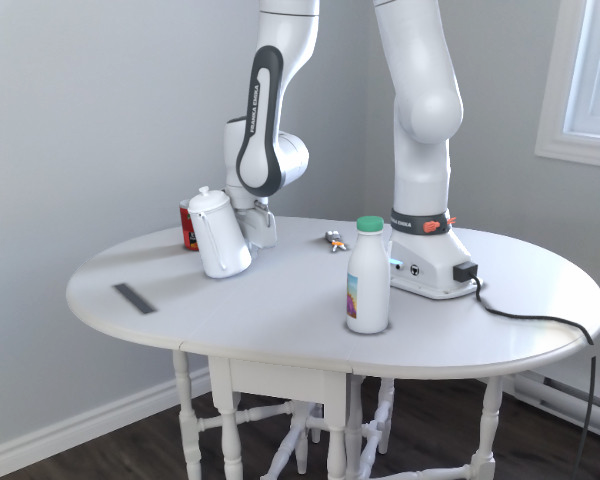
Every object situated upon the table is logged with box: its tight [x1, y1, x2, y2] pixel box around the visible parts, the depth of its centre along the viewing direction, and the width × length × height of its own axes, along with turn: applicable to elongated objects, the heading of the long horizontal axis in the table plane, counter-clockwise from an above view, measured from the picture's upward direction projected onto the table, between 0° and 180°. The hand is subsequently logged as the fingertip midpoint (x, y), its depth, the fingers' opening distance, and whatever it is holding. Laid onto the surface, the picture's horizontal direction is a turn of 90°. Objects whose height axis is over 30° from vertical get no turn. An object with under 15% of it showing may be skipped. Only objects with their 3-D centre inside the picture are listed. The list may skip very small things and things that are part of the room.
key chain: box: [324, 230, 347, 252], centre depth 160 cm, size 13×4×2 cm, turn 8°
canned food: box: [178, 198, 199, 251], centre depth 159 cm, size 8×8×11 cm
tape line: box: [114, 283, 155, 314], centre depth 134 cm, size 18×2×1 cm, turn 33°
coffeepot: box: [188, 185, 252, 279], centre depth 139 cm, size 11×25×19 cm, turn 0°
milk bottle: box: [346, 215, 391, 335], centre depth 114 cm, size 8×8×20 cm
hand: (251, 257), depth 146 cm, fingers closed, pressing on coffeepot
